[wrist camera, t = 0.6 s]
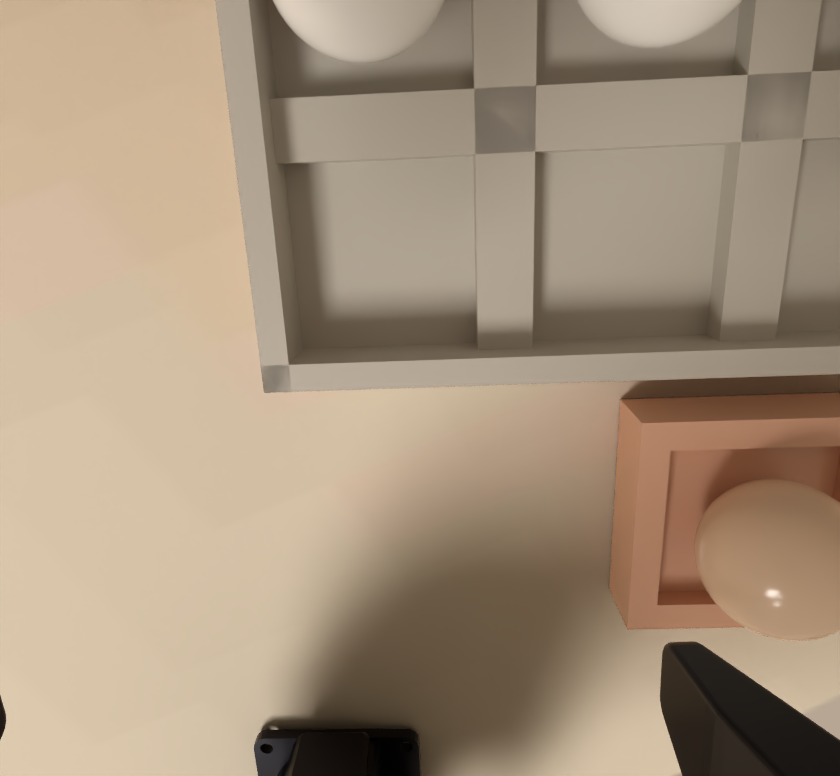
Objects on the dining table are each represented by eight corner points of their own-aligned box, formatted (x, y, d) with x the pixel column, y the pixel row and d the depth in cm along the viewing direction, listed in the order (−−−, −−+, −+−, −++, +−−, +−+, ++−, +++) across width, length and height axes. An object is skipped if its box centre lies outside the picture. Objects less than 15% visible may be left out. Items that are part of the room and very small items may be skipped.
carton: (948, 346, 19) (1022, 368, 17) (284, 369, 20) (264, 392, 17) (1073, -211, 15) (1194, -289, 12) (225, -154, 16) (188, -218, 13)
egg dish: (812, 583, 22) (852, 625, 20) (609, 587, 22) (627, 629, 20) (846, 392, 20) (895, 415, 17) (620, 399, 20) (642, 423, 18)
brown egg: (802, 575, 20) (900, 677, 16) (666, 578, 20) (726, 679, 16) (823, 452, 19) (936, 526, 14) (677, 456, 19) (746, 531, 15)
